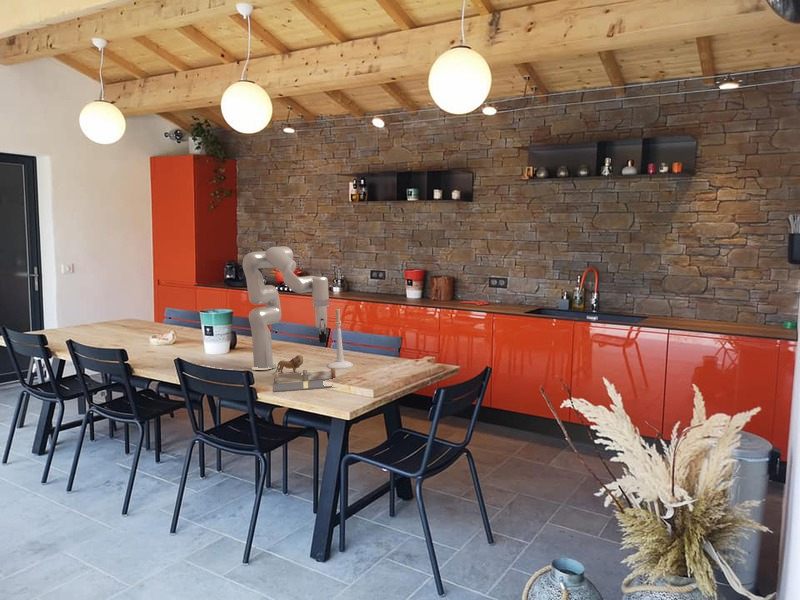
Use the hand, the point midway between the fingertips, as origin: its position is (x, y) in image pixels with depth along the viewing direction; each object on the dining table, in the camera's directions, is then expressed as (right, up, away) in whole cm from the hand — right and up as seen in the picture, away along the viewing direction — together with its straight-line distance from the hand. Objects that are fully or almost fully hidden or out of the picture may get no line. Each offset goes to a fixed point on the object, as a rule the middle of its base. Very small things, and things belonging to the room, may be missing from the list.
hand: (322, 341), depth 272 cm
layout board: (-7, -19, -6) cm, 21 cm away
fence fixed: (-14, -18, -7) cm, 24 cm away
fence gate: (0, -17, -4) cm, 18 cm away
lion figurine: (-18, -17, +13) cm, 28 cm away
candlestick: (+6, -15, +25) cm, 30 cm away
